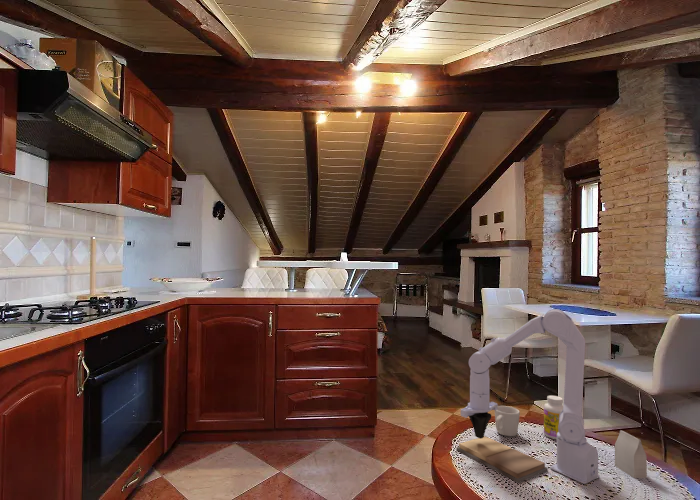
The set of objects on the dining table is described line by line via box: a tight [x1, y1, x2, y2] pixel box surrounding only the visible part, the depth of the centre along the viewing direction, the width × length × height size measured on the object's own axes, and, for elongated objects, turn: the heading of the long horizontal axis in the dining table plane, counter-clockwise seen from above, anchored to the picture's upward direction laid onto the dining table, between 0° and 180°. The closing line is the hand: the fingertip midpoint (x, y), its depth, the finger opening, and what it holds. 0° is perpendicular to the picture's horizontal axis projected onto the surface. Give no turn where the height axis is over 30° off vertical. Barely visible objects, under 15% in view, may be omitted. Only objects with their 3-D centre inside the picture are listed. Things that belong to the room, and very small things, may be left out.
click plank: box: [458, 435, 513, 461], centre depth 118 cm, size 10×12×1 cm
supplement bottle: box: [543, 395, 564, 441], centre depth 132 cm, size 7×7×13 cm
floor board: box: [455, 446, 549, 484], centre depth 114 cm, size 21×13×2 cm, turn 32°
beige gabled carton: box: [614, 429, 648, 479], centre depth 109 cm, size 4×7×10 cm, turn 5°
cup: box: [494, 405, 521, 437], centre depth 132 cm, size 11×8×8 cm
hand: (479, 437), depth 120 cm, fingers closed
